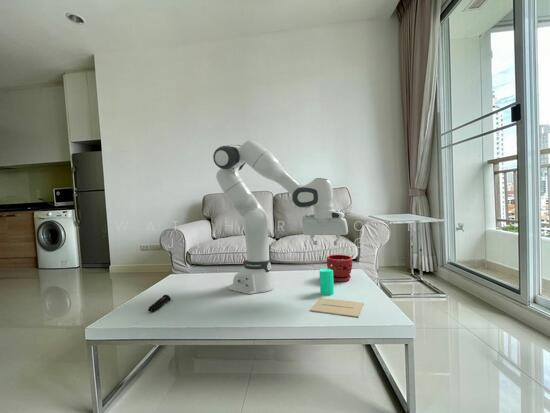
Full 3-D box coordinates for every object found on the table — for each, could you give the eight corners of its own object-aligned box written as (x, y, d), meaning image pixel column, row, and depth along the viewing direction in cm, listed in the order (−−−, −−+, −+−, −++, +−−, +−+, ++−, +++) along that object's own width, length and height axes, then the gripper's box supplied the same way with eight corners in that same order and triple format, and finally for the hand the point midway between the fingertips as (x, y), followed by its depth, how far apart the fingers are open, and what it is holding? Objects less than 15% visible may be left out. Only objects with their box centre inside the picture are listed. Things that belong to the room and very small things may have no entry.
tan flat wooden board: (309, 311, 107) (309, 309, 107) (320, 298, 120) (319, 297, 120) (358, 317, 99) (358, 316, 99) (363, 303, 112) (363, 302, 112)
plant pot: (328, 283, 141) (327, 259, 141) (326, 276, 154) (326, 254, 154) (354, 283, 140) (353, 259, 139) (351, 275, 153) (350, 254, 152)
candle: (333, 295, 123) (332, 268, 123) (320, 295, 124) (319, 268, 124) (333, 291, 129) (332, 265, 129) (320, 290, 130) (319, 265, 130)
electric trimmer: (145, 314, 112) (144, 306, 112) (163, 300, 127) (163, 293, 127) (154, 314, 112) (154, 306, 111) (171, 300, 127) (171, 293, 127)
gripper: (299, 215, 127) (301, 245, 128) (345, 214, 119) (346, 246, 119) (304, 214, 133) (305, 243, 133) (348, 213, 124) (349, 244, 125)
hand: (325, 245), depth 126 cm, fingers open, 8 cm apart
